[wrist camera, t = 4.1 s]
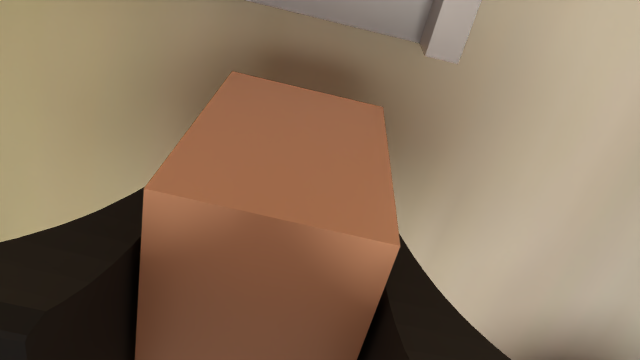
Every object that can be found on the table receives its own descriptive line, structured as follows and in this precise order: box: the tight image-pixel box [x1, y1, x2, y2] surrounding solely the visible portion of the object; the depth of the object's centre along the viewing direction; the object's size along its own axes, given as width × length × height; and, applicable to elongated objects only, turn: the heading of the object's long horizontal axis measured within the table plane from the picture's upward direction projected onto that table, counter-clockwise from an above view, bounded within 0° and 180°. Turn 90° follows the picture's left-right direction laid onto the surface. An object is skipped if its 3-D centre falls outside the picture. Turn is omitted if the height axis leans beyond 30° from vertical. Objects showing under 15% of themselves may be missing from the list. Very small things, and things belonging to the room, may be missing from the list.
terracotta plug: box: [135, 71, 400, 360], centre depth 12 cm, size 6×4×6 cm, turn 167°
